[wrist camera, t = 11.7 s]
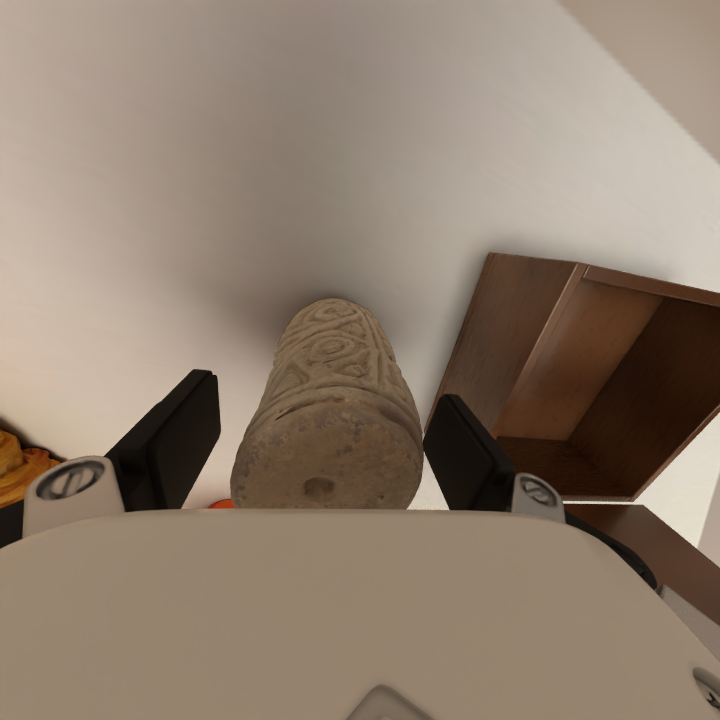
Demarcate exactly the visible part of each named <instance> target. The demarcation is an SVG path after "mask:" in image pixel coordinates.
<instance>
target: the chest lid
mask: <svg viewBox="0 0 720 720" xmlns="http://www.w3.org/2000/svg"><path fill="white" fill-rule="evenodd" d="M563 506H564V510H566V511H568V512H569V513H571V514H573V515H574V516H576V517H578V518H580V519H581V520H583V521H585V522H586V523H588V524H590V525H591V526H593V527H595V528H597V529H598V530H600V531H602V532H603V533H605V534H607V535H609V536H610V537H612V538H614V539H615V540H617V541H619V542H620V543H622V544H623V545H625V546H627V547H628V548H630V549H631V550H633V551H634V552H635V553H636V554H637V555H638V556H639V557H640V558H641V559H642V560H643V561H644V562H645V563H646V565H647V566H648V567H649V568H650V570H651V571H652V573H653V574H654V576H655V578H656V580H657V584H658V585H659V586H661V585H662V584H665V585H667V586H668V587H669V588H671V589H672V590H673V591H674V592H676V593H677V594H678V595H680V596H681V597H682V598H684V599H685V600H686V601H688V602H689V603H690V604H691V605H693V606H694V607H695V608H697V609H698V610H699V611H701V612H702V613H703V614H704V615H706V616H707V617H708V618H710V619H711V620H712V621H714V622H715V623H716V624H718V625H719V626H720V568H719V567H718V566H717V565H716V564H715V563H713V562H712V561H711V560H710V559H708V558H707V557H706V556H705V555H704V554H702V553H701V552H700V551H699V550H697V549H696V548H695V547H694V546H693V545H691V544H690V543H689V542H688V541H687V540H685V539H684V538H683V537H682V536H680V535H679V534H678V533H677V532H676V531H674V530H673V529H672V528H671V527H669V526H668V525H667V524H666V523H665V522H663V521H662V520H661V519H660V518H659V517H657V516H656V515H655V514H654V513H652V512H651V511H650V510H649V509H648V508H646V507H645V506H644V505H622V504H563Z"/></svg>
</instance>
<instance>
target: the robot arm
mask: <svg viewBox="0 0 720 720" xmlns="http://www.w3.org/2000/svg"><path fill="white" fill-rule="evenodd" d="M220 432H221V424H220V409H219V395H218V380H217V376H216V375H213V374H212V371H209V370H198V369H194V370H192V371H191V372H190V373H189V374H188V375H187V376H186V377H185V378H184V379H183V380H182V381H181V382H180V383H179V384H178V385H177V386H176V387H175V388H174V389H173V390H172V391H171V392H170V393H169V394H168V395H167V396H166V397H165V398H164V399H163V400H162V401H161V402H159V403H158V404H156V405H155V406H154V407H153V408H152V409H151V410H150V411H149V412H148V413H147V414H146V415H145V416H144V417H143V418H142V419H141V420H140V421H139V422H138V423H137V424H136V425H135V426H134V427H133V428H132V429H131V430H130V431H129V432H128V433H127V434H126V435H125V436H124V437H123V438H122V439H121V440H120V441H119V442H118V443H117V444H116V445H115V446H114V447H113V448H112V449H111V450H110V451H109V452H108V453H107V454H106V455H105V456H104V457H103V456H84V457H79V458H75V459H71V460H69V461H66V462H63V463H61V464H58V465H56V466H54V467H53V468H51V469H49V470H47V471H45V472H44V473H43V474H41V475H40V476H39V477H37V478H36V479H35V480H34V481H33V482H32V483H31V484H30V485H29V487H28V488H27V490H26V493H25V497H24V499H22V500H20V501H17V502H15V503H13V504H10V505H8V506H5V507H3V508H0V720H720V626H719V625H718V624H716V623H715V622H714V621H712V620H711V619H710V618H708V617H707V616H706V615H704V614H703V613H702V612H701V611H699V610H698V609H697V608H695V607H694V606H693V605H691V604H690V603H689V602H688V601H686V600H685V599H684V598H682V597H681V596H680V595H678V594H677V593H676V592H674V591H673V590H672V589H671V588H669V587H668V586H667V585H665V584H662V585H661V586H659V585H658V584H657V580H656V578H655V576H654V574H653V573H652V571H651V570H650V568H649V567H648V566H647V565H646V563H645V562H644V561H643V560H642V559H641V558H640V557H639V556H638V555H637V554H636V553H635V552H634V551H633V550H631V549H630V548H628V547H627V546H625V545H623V544H622V543H620V542H619V541H617V540H615V539H614V538H612V537H610V536H609V535H607V534H605V533H603V532H602V531H600V530H598V529H597V528H595V527H593V526H591V525H590V524H588V523H586V522H585V521H583V520H581V519H580V518H578V517H576V516H574V515H573V514H571V513H569V512H568V511H566V510H564V506H563V501H562V499H561V497H560V495H559V494H558V492H557V491H556V490H555V489H554V488H553V487H552V486H551V485H550V484H548V483H547V482H546V481H544V480H543V479H541V478H539V477H537V476H535V475H533V474H530V473H525V472H523V473H518V474H515V473H514V472H513V469H514V468H515V464H514V463H513V462H512V461H511V460H510V458H509V457H508V456H507V455H506V453H505V452H504V451H503V450H502V448H501V447H500V446H499V445H498V443H497V442H496V441H495V440H494V438H493V437H492V436H491V435H490V433H489V432H488V431H487V430H486V428H485V427H484V426H483V425H482V424H481V422H480V421H479V420H478V419H477V417H476V416H475V415H474V414H473V412H472V411H471V410H470V409H469V407H468V406H467V405H466V404H465V402H464V401H463V400H462V399H461V397H460V396H459V395H456V394H444V395H443V396H441V397H440V398H439V399H438V402H437V405H436V407H435V410H434V413H433V415H432V418H431V421H430V423H429V426H428V429H427V431H426V434H425V437H424V439H423V448H424V452H425V454H426V457H427V459H428V461H429V464H430V466H431V468H432V470H433V473H434V475H435V477H436V480H437V482H438V484H439V486H440V489H441V491H442V493H443V495H444V498H445V500H446V502H447V505H448V507H449V509H450V510H400V509H230V508H228V509H181V507H182V505H183V504H184V502H185V500H186V498H187V496H188V494H189V492H190V491H191V489H192V487H193V485H194V483H195V481H196V479H197V478H198V476H199V474H200V472H201V470H202V468H203V466H204V465H205V463H206V461H207V459H208V457H209V455H210V453H211V452H212V450H213V448H214V446H215V444H216V442H217V440H218V439H219V436H220Z"/></svg>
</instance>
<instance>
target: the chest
mask: <svg viewBox="0 0 720 720" xmlns="http://www.w3.org/2000/svg"><path fill="white" fill-rule="evenodd" d="M444 394H456V395H459V396H460V397H461V399H462V400H463V401H464V402H465V404H466V405H467V406H468V407H469V409H470V410H471V411H472V412H473V414H474V415H475V416H476V417H477V419H478V420H479V421H480V422H481V424H482V425H483V426H484V427H485V428H486V430H487V431H488V432H489V433H490V435H491V436H492V437H493V438H494V440H495V441H496V442H497V443H498V445H499V446H500V447H501V448H502V450H503V451H504V452H505V453H506V455H507V456H508V457H509V458H510V460H511V461H512V462H513V463H514V464H515V468H514V469H513V472H514V473H515V474H518V473H523V472H525V473H530V474H533V475H535V476H537V477H539V478H541V479H543V480H544V481H546V482H547V483H548V484H550V485H551V486H552V487H553V488H554V489H555V490H556V491H557V492H558V494H559V495H560V497H561V499H562V501H608V502H634V501H635V500H636V499H637V498H638V496H639V495H640V494H641V493H642V492H643V491H644V490H645V489H646V488H647V487H648V486H649V485H650V484H651V483H652V482H653V481H654V480H655V479H656V478H657V477H658V476H659V475H660V474H661V473H662V472H663V470H664V469H665V468H666V467H667V466H668V465H669V464H670V463H671V462H672V461H673V460H674V459H675V458H676V457H677V456H678V455H679V454H680V453H681V452H682V451H683V450H684V449H685V448H686V447H687V446H688V445H689V443H690V442H691V441H692V440H693V439H694V438H695V437H696V436H697V435H698V434H699V433H700V432H701V431H702V430H703V429H704V428H705V427H706V426H707V425H708V424H709V423H710V422H711V421H712V420H713V419H714V418H715V416H716V415H717V414H718V413H719V412H720V293H717V292H713V291H708V290H704V289H699V288H694V287H690V286H685V285H681V284H676V283H672V282H667V281H663V280H658V279H653V278H649V277H644V276H640V275H635V274H631V273H626V272H622V271H617V270H612V269H608V268H603V267H599V266H594V265H590V264H585V263H580V262H574V261H565V260H556V259H547V258H537V257H528V256H519V255H510V254H501V253H492V252H491V253H489V255H488V258H487V261H486V264H485V266H484V269H483V272H482V275H481V277H480V280H479V283H478V285H477V288H476V291H475V294H474V296H473V299H472V302H471V304H470V307H469V310H468V313H467V315H466V318H465V321H464V323H463V326H462V329H461V332H460V334H459V337H458V340H457V343H456V345H455V348H454V351H453V353H452V356H451V359H450V362H449V364H448V367H447V370H446V372H445V375H444V378H443V381H442V383H441V386H440V389H439V391H438V394H437V397H436V400H435V402H434V405H433V408H432V411H431V413H430V416H429V419H428V421H427V424H426V427H425V430H424V433H425V434H426V431H427V429H428V426H429V423H430V421H431V418H432V415H433V413H434V410H435V407H436V405H437V402H438V399H439V398H440V397H441V396H443V395H444Z"/></svg>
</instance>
